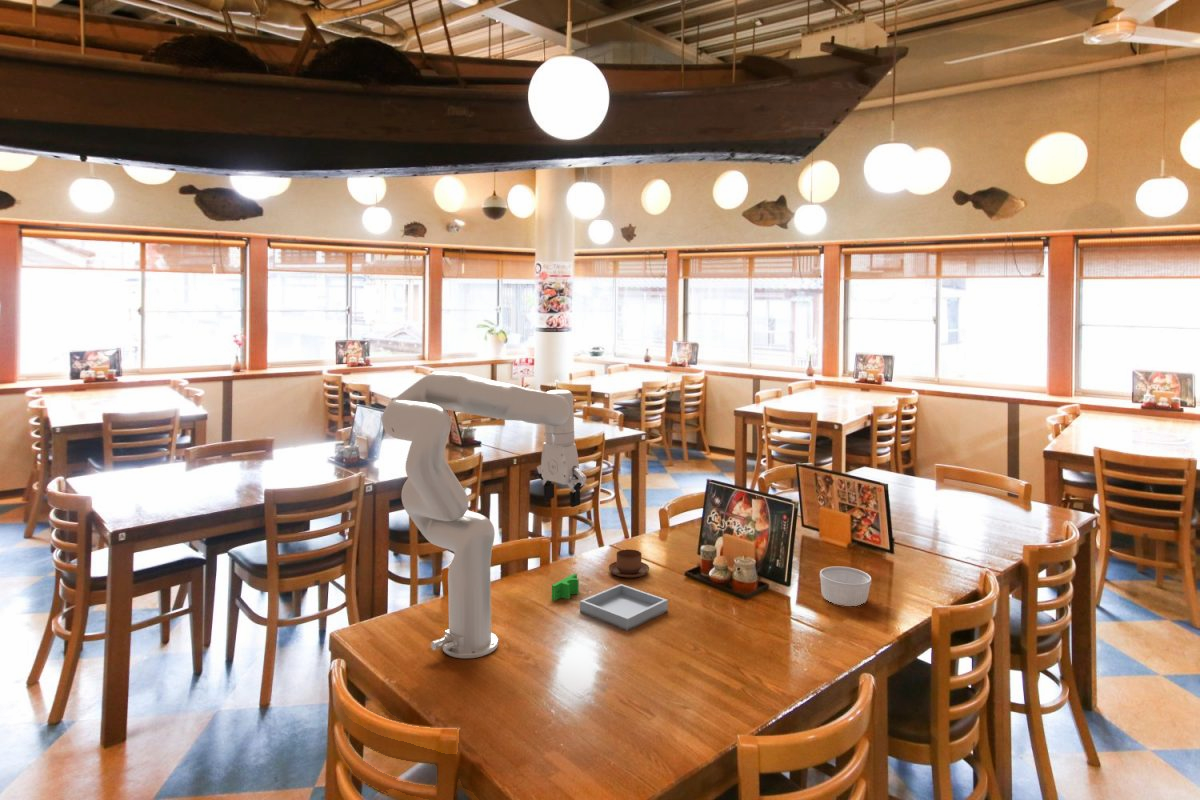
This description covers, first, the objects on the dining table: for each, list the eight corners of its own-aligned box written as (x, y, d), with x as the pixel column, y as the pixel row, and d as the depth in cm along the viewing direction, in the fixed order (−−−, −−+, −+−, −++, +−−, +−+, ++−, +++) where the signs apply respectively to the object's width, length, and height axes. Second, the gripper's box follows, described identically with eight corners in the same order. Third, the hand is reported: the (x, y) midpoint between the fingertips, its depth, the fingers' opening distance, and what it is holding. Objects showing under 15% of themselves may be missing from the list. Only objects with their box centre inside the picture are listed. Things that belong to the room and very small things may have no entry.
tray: (627, 630, 174) (627, 618, 174) (579, 612, 185) (580, 600, 185) (667, 611, 186) (667, 599, 186) (620, 594, 197) (620, 583, 196)
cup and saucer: (603, 568, 217) (603, 548, 216) (640, 564, 220) (641, 545, 220) (616, 583, 206) (616, 562, 205) (655, 578, 209) (655, 558, 208)
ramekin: (881, 605, 191) (882, 580, 190) (841, 612, 186) (842, 586, 185) (847, 587, 203) (848, 563, 202) (808, 594, 198) (809, 569, 197)
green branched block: (562, 603, 191) (562, 588, 191) (551, 600, 193) (551, 585, 192) (584, 590, 200) (584, 575, 199) (573, 587, 202) (573, 573, 201)
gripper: (526, 436, 188) (529, 499, 191) (573, 445, 177) (575, 512, 179) (547, 431, 194) (549, 493, 196) (594, 439, 182) (596, 505, 185)
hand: (562, 502), depth 188 cm, fingers open, 9 cm apart
